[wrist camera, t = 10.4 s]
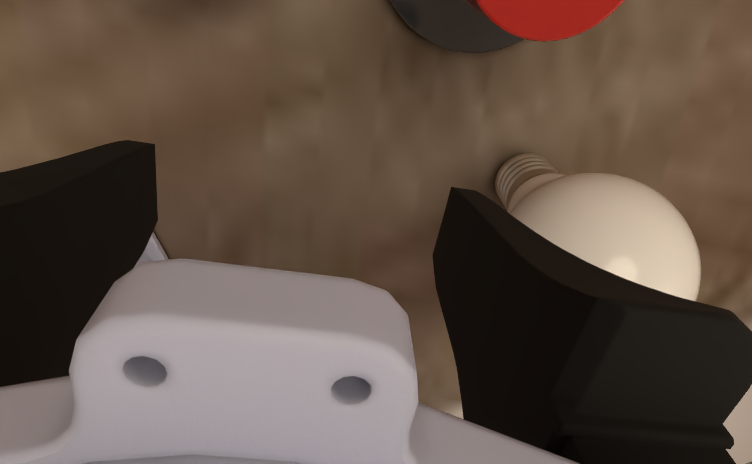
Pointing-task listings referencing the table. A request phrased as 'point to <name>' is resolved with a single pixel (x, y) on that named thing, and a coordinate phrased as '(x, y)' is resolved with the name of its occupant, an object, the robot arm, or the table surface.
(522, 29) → the jar
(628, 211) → the lightbulb
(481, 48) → the coaster
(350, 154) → the table surface
